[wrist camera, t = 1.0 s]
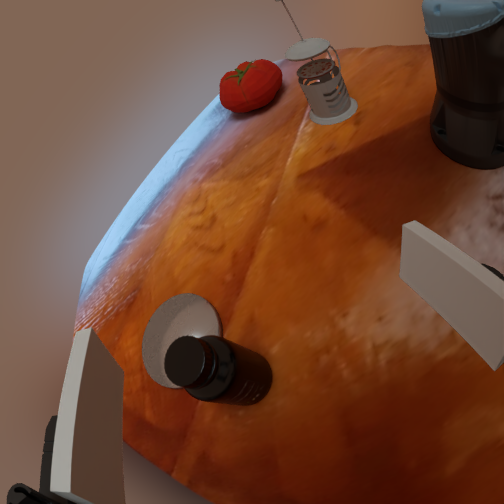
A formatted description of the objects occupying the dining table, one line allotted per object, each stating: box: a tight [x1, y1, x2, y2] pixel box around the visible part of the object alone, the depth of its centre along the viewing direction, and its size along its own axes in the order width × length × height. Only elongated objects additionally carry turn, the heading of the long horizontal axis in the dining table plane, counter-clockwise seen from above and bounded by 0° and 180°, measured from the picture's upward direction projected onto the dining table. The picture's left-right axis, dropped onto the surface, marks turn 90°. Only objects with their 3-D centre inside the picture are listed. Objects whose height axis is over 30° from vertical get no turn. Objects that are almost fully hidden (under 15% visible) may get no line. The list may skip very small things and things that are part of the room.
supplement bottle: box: [164, 335, 272, 405], centre depth 29 cm, size 7×7×12 cm
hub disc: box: [142, 293, 223, 389], centre depth 41 cm, size 14×14×1 cm
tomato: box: [220, 59, 282, 113], centre depth 61 cm, size 14×16×10 cm
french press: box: [275, 0, 358, 125], centre depth 42 cm, size 10×12×25 cm
